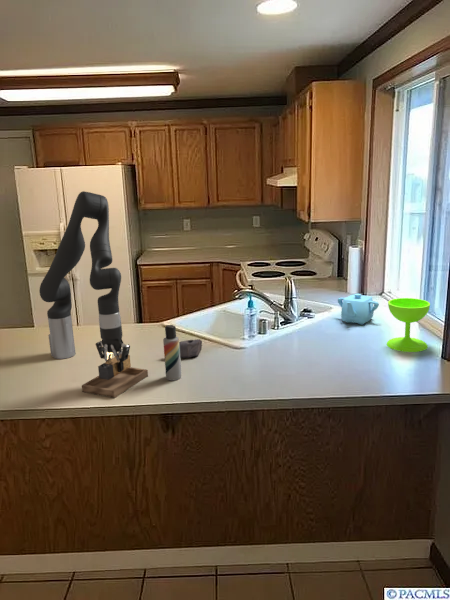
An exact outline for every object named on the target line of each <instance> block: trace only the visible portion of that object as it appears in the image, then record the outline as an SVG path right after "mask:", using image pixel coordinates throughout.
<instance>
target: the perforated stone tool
mask: <svg viewBox="0 0 450 600" xmlns="http://www.w3.org/2000/svg"><path fill="white" fill-rule="evenodd" d="M179 345H180V359H186V358H191V357H198V356H199V355H200V354H201V351H202V350H203V349H202V348H203V347H202V346H203V341H202V340H201V339H199V338H198V339H186V340H181V341H179Z"/></svg>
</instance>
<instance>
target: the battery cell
mask: <svg viewBox="0 0 450 600" xmlns="http://www.w3.org/2000/svg"><path fill="white" fill-rule="evenodd" d="M119 358H120V357H119ZM123 364H124V369H123V371H124V370H126V369H128V368H129V367H131V366H132V365H131V355H130V354H129V355H128V359H126V360H125V361H123ZM97 367H98V376H99V378H100V379H106V380H109V379H111V378H113V377H114V376H116V375H118V374H119V373H121V372H123V371H121V372H118V367H117V360H116V357H115V356H114V357H111V360H109V361H107V362H106V361H105V362H103V363H101V364H100V365H98V366H97Z"/></svg>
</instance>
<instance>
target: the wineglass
mask: <svg viewBox="0 0 450 600" xmlns="http://www.w3.org/2000/svg"><path fill="white" fill-rule="evenodd" d="M387 304H388V305H387V307H388V310H389V312H390V314H391V315H392V316H393V317H394V318H395V319H396V320H398V321H399V322H402V323H405V324H404V325H405V327H404V329H405V330H404V336H401V337H393V338H390V339H389V340H388V341H387V342H386V346H387V347H388V348H389V349H391V350H394V351H398V352H404V353H417V352H423V351H425V350H427V349H428V348H429V347H428V344H427V342H425V341H424V340H422V339H419V338H415V337H411V336H410V335H411V323H417V322H419V321H421V320H422V319H423V318H424V317H425V316H427V314H428V313H429V310H430V306H431V303H430V302H429V301H427V300H425V299H420V298H413V297H401V298H399V297H398V298H392V299H390V300H388V302H387Z"/></svg>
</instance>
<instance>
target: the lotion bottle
mask: <svg viewBox="0 0 450 600" xmlns="http://www.w3.org/2000/svg"><path fill="white" fill-rule="evenodd" d="M164 332H165V337H163V342H162V343H163V352H164V353H163V354H164V355H163V357H164V364H165V365H164V367H165V368H164V369H165V379H166V380H168V381H178V380H180V379H182V376H183V375H182V374H183V373H182V361H181V360H182V358H180V345H179V342H180V337H178V336H177V329H176V326H175V325H174V324H166V325H165V327H164Z"/></svg>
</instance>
